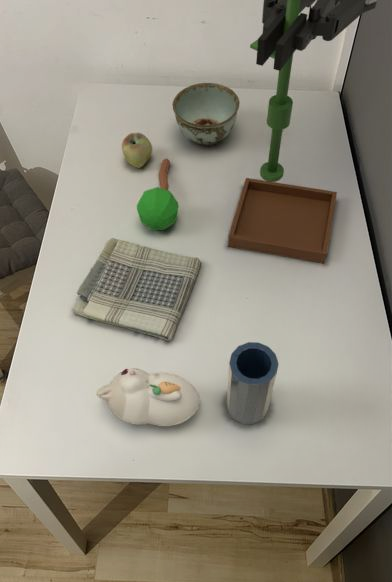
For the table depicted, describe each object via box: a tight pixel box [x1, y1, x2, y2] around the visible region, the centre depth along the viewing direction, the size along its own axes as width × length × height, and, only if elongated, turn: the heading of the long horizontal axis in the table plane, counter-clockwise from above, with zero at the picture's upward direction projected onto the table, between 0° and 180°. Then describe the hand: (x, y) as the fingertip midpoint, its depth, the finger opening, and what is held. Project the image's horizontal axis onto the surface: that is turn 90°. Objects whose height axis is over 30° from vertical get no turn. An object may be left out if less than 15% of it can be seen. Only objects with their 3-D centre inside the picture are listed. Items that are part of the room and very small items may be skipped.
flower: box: [249, 0, 301, 182], centre depth 59 cm, size 7×5×32 cm
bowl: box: [171, 82, 240, 147], centre depth 104 cm, size 14×13×8 cm
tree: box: [136, 157, 180, 231], centre depth 96 cm, size 8×8×20 cm
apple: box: [121, 132, 153, 169], centre depth 102 cm, size 6×8×6 cm
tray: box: [227, 177, 338, 264], centre depth 93 cm, size 18×16×3 cm
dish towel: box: [72, 237, 202, 342], centre depth 86 cm, size 19×18×3 cm
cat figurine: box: [96, 368, 201, 427], centre depth 73 cm, size 10×8×15 cm
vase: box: [226, 341, 279, 425], centre depth 70 cm, size 6×6×14 cm
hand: (269, 54), depth 53 cm, fingers closed on flower
